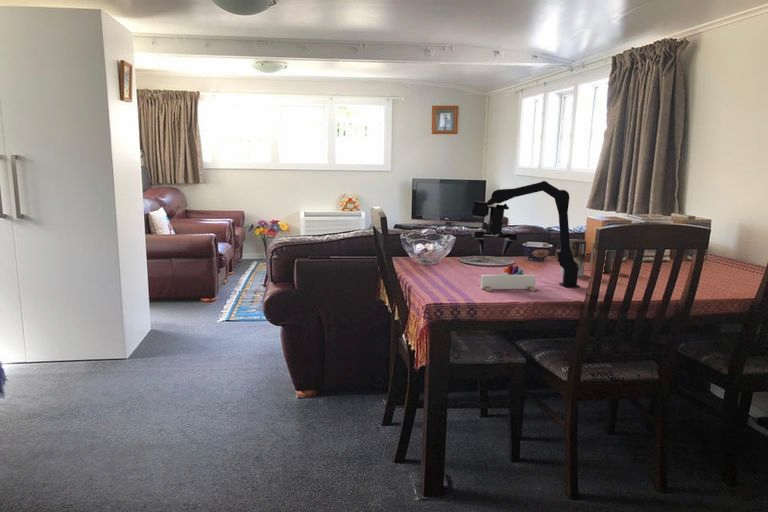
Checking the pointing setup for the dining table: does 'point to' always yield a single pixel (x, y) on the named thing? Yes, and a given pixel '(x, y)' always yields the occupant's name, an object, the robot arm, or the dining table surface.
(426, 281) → the dining table surface
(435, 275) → the dining table surface
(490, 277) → the white rectangular box
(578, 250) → the coffee box
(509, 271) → the pom poms
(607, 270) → the pillar candle
